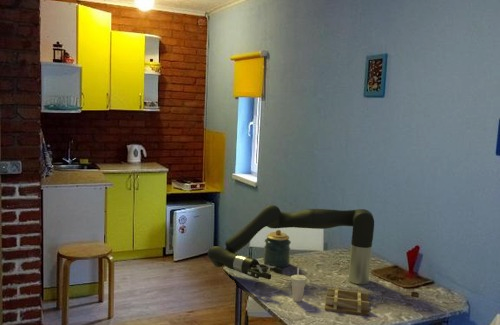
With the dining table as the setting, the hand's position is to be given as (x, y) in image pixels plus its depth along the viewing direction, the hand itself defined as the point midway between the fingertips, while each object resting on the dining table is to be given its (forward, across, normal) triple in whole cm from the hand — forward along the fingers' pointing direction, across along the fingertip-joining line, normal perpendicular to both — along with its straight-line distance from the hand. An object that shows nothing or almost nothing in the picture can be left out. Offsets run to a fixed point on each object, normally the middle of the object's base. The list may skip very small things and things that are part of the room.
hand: (276, 274), depth 203 cm
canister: (-20, +31, +8) cm, 38 cm away
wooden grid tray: (+28, +10, +8) cm, 31 cm away
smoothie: (+11, 0, +8) cm, 14 cm away
